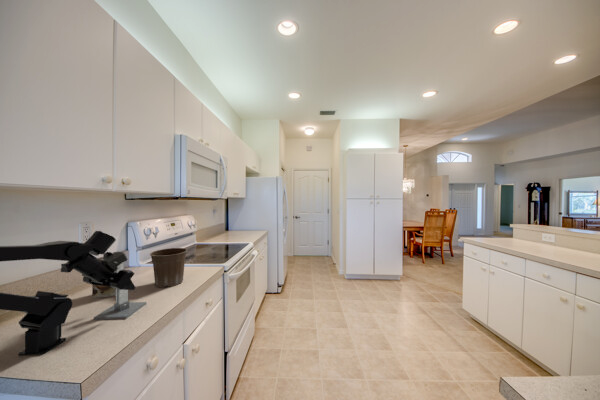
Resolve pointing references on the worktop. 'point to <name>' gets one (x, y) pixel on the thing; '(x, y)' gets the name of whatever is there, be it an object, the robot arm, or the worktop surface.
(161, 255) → the plant pot
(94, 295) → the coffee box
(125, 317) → the plate
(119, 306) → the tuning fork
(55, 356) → the worktop surface
